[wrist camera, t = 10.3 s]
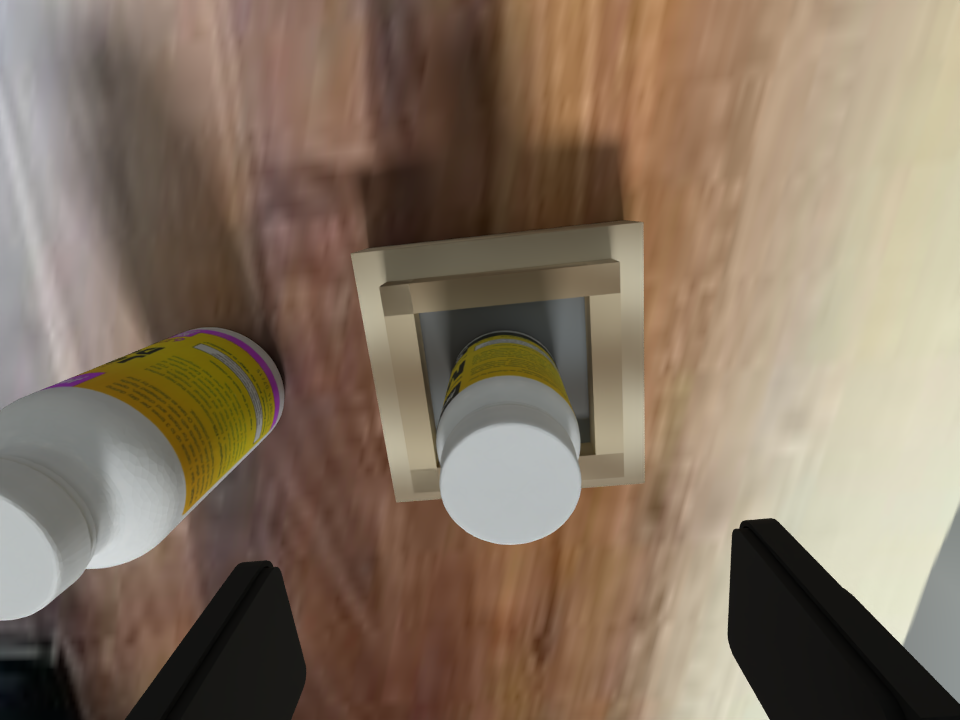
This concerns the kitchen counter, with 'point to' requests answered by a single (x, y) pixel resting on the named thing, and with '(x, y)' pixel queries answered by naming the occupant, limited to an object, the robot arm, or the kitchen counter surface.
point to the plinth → (514, 307)
